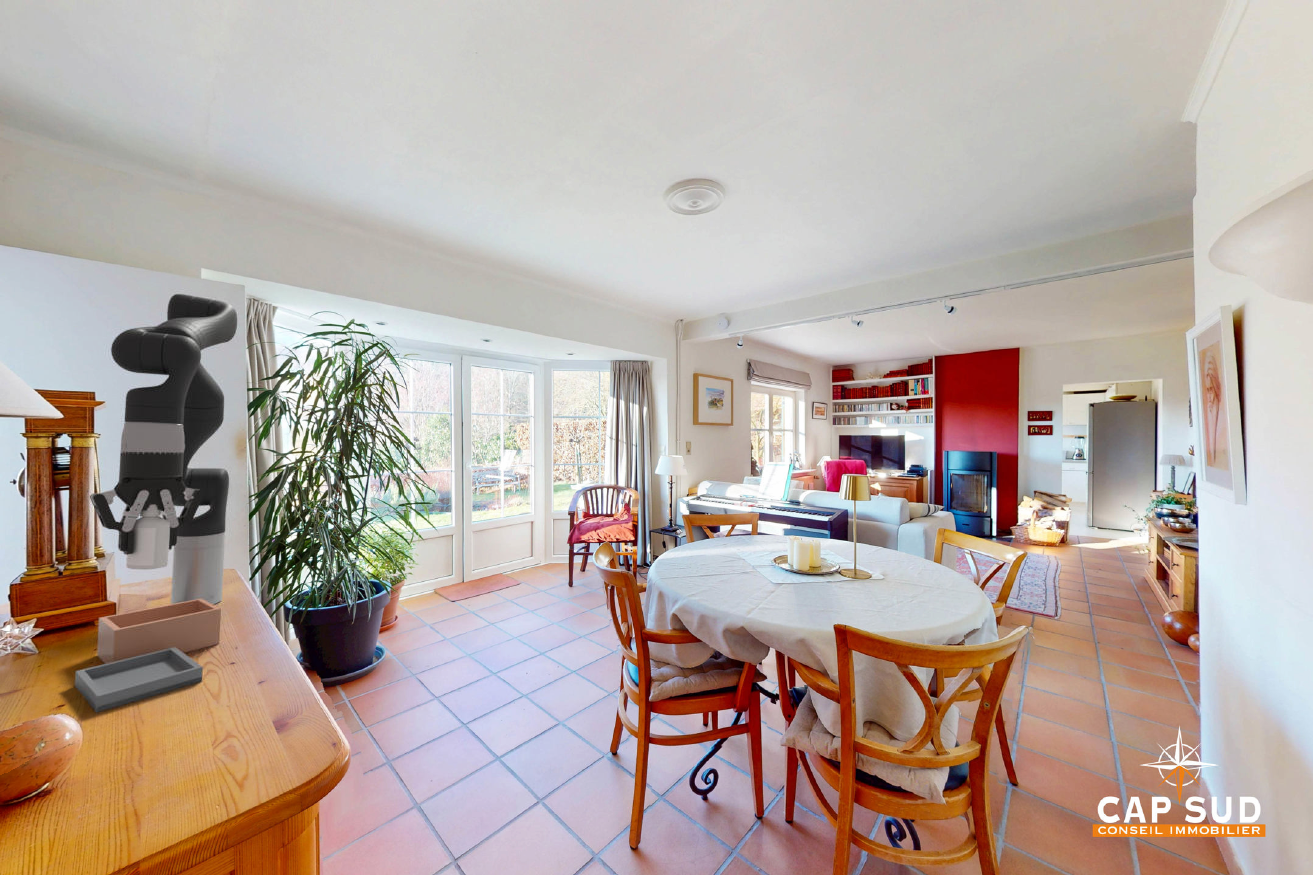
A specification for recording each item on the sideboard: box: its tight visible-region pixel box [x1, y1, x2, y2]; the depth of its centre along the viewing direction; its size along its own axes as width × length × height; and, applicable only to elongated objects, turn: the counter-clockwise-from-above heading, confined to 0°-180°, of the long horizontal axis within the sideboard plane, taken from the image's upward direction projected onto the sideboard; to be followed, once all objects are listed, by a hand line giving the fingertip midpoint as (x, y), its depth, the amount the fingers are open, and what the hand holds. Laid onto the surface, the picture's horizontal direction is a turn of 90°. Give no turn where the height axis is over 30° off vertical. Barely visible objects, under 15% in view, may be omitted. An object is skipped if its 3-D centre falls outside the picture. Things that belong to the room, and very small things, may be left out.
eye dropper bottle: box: [125, 505, 170, 570], centre depth 83 cm, size 4×6×12 cm
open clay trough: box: [96, 599, 222, 664], centre depth 95 cm, size 11×15×7 cm
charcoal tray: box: [74, 647, 204, 714], centre depth 82 cm, size 14×12×2 cm
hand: (147, 550), depth 83 cm, fingers closed on eye dropper bottle, 4 cm apart
